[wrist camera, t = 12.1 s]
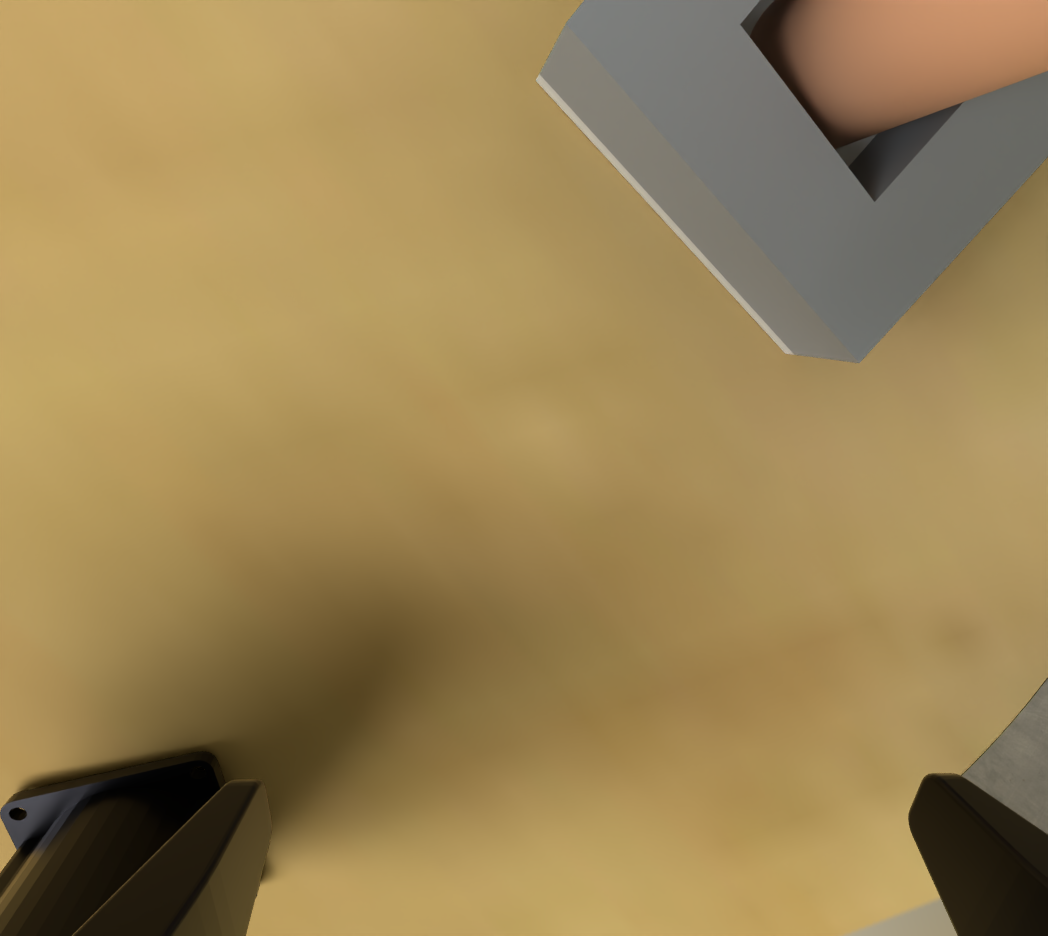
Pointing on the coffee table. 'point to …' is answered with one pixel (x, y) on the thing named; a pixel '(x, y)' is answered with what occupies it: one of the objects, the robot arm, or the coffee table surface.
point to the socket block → (787, 168)
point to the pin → (898, 56)
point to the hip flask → (1019, 763)
